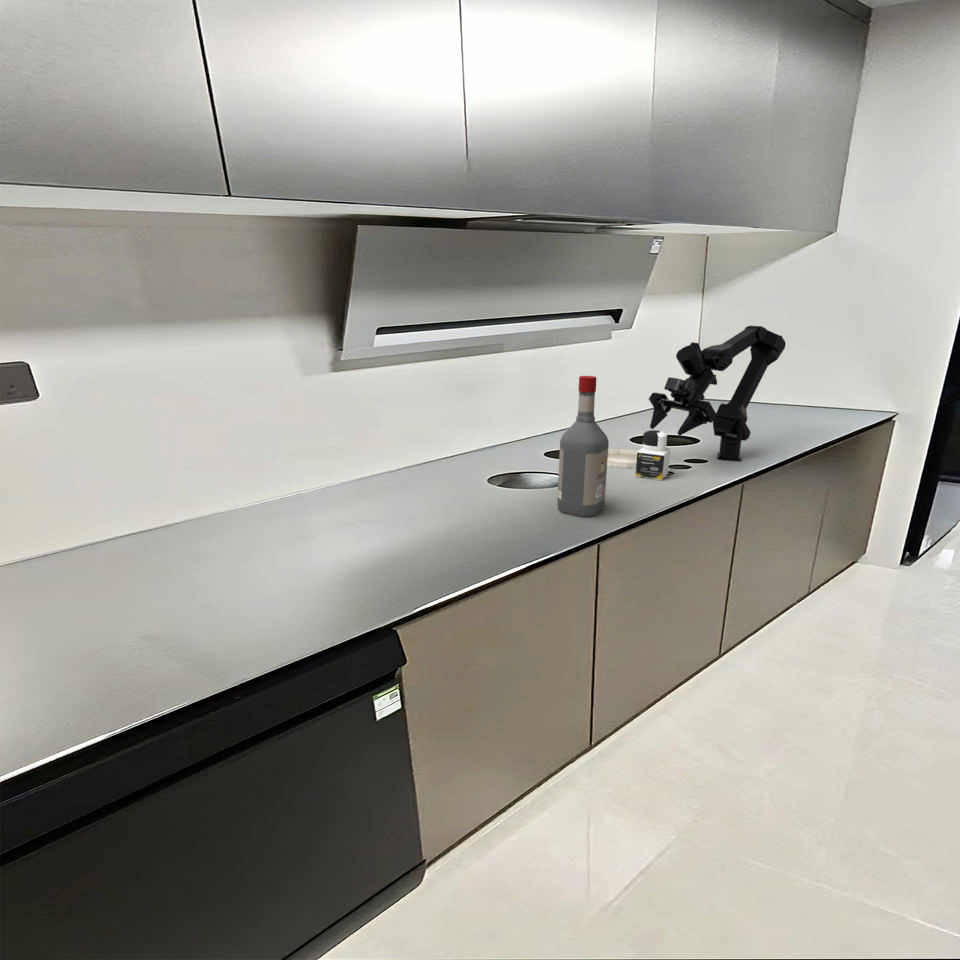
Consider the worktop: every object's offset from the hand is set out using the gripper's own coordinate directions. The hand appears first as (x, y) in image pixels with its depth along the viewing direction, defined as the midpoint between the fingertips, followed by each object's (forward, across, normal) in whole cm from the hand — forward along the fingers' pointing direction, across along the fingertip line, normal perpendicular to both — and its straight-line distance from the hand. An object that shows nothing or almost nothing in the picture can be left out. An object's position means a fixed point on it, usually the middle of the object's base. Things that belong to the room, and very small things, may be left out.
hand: (664, 431), depth 176 cm
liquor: (+36, +10, -19) cm, 42 cm away
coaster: (+7, -15, +9) cm, 19 cm away
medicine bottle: (+11, 0, +6) cm, 12 cm away
